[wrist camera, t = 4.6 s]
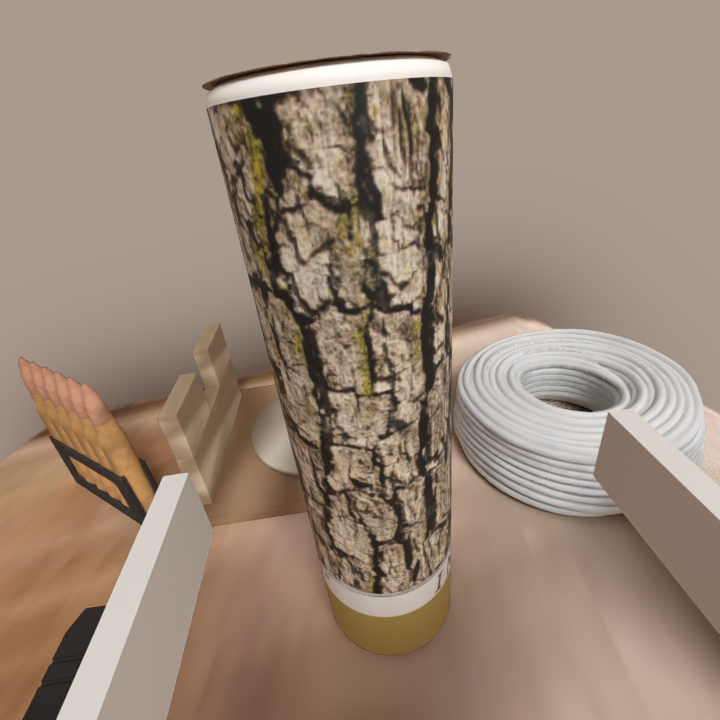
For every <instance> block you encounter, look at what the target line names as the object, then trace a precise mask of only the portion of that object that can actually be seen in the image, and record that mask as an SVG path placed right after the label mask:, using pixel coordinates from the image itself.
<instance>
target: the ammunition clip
mask: <svg viewBox="0 0 720 720" xmlns="http://www.w3.org/2000/svg"><path fill="white" fill-rule="evenodd" d="M18 364H19V370H20V373H21V376H22V379H23V381H24V383H25V385H26V387H27V389H28V390H29V392H30V395H31V397H32V399H33V401H34V402H35V405H36V409H37V411H38V414H39V415H40V417H41V419H42V420H43V422H44V423H45V425H46V427H47V428H48V430H49V432H50V433H51V435H52V436H50V437H49V438H50V440H51V441H52V443H53V445H54V446H55V448H56V449H57V451H58V453H59V454H60V456H61V458H62V459H63V461H64V463H65V464H66V466H67V467H68V469H69V471H70V472H71V474H72V476H73V477H74V479H75V481H76V482H77V483H79V484H80V485H82V486H83V487H85V488H86V489H88V490H89V491H91V492H92V493H94V494H95V495H97V496H98V497H100V498H101V499H103V500H104V501H106V502H107V503H109V504H110V505H112V506H113V507H115V508H117V509H118V510H120V511H121V512H123V513H124V514H126V515H127V516H129V517H130V518H132V519H133V520H135V521H136V522H138V523H139V524H141V525H142V523H143V521H144V519H145V517H146V514H147V512H148V510H149V508H150V505H151V503H152V501H153V498H154V496H155V494H156V492H157V489H158V486H157V484H156V482H155V480H154V478H153V476H152V474H151V472H150V470H149V469H148V467H147V465H146V463H145V461H143V460H141V459H139V458H138V457H137V455H136V453H135V451H134V449H133V447H132V445H131V443H130V441H129V439H128V437H127V435H126V434H125V432H124V431H123V429H122V428H121V427H120V426H119V425H118V423H117V422H116V420H115V418H114V417H113V416H112V414H111V412H110V410H109V409H108V407H107V405H106V404H105V402H104V401H103V400H102V398H101V397H100V396H99V394H98V393H97V392H96V391H95V390H94V389H93V388H92V387H90V386H89V385H88V384H86V383H82V384H80V383H78V382H77V381H76V380H75V379H73V378H71V377H68V379H67V378H66V377H65V376H63V375H62V374H61V373H59V372H55V373H53V372H52V371H51V370H50V369H48V368H47V367H42V368H41V367H40V366H39V365H38V364H36V363H35V362H29V361H27V360H26V359H24V358H22V357H20V358H19V359H18Z"/></svg>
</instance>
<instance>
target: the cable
mask: <svg viewBox="0 0 720 720" xmlns="http://www.w3.org/2000/svg"><path fill="white" fill-rule="evenodd" d="M539 399H550V400H559V401H565V402H570V403H574V404H577V405H580V406H583V407H585V408H588V409H590V410H592V411H595V412H582V411H574V410H568V409H563V408H559V407H556V406H552V405H550V404H547V403H545V402H543V401H541V400H539ZM630 408H632V409H633V410H634V411H636V412H637V413H638V414H639V415H640V416H641V417H642V418H643V419H645V420H646V421H647V422H648V423H649V424H650V425H651V426H652V427H654V428H655V429H656V430H657V431H658V432H659V433H660V434H661V435H663V436H664V437H665V438H666V439H667V440H668V441H669V442H670V443H672V444H673V445H674V446H675V447H676V448H677V449H678V450H679V451H681V452H682V453H683V454H684V455H685V456H686V457H687V458H688V459H690V460H691V461H692V462H693V463H694V464H695V465H696V466H697V467H700V465H701V462H702V459H703V456H704V448H705V442H704V436H705V431H706V423H705V418H704V413H703V403H702V399H701V396H700V394H699V391H698V388H697V386H696V384H695V382H694V381H693V379H692V378H691V376H690V375H689V374H688V373H687V372H686V371H685V370H684V369H683V368H681V366H679V365H678V364H677V363H675V362H674V361H673V360H671V359H669V358H668V357H666V356H664V355H663V354H661V353H659V352H657V351H655V350H653V349H651V348H649V347H647V346H645V345H642V344H640V343H637V342H635V341H632V340H629V339H626V338H623V337H619V336H615V335H612V334H607V333H603V332H597V331H590V330H582V329H581V330H580V329H551V330H540V331H534V332H528V333H522V334H518V335H514V336H510V337H507V338H504V339H501V340H498V341H496V342H494V343H492V344H490V345H488V346H486V347H485V348H483V349H482V350H480V351H478V352H477V353H475V354H474V355H472V356H471V357H470V358H469V359H468V360H467V361H466V362H465V363H464V364H463V366H462V367H461V369H460V371H459V374H458V377H457V385H456V398H455V404H454V408H453V425H454V430H455V433H456V435H457V437H458V439H459V440H460V443H461V446H462V448H463V450H464V452H465V454H466V456H467V458H468V459H469V461H470V462H471V463H472V465H473V466H474V467H475V468H476V469H477V471H478V472H479V473H480V474H481V475H482V476H484V477H485V478H486V479H487V480H488V481H489V482H490V483H491V484H493V485H494V486H496V487H497V488H498V489H500V490H502V491H503V492H505V493H506V494H508V495H510V496H512V497H514V498H516V499H518V500H520V501H522V502H524V503H526V504H529V505H531V506H534V507H537V508H540V509H543V510H546V511H550V512H553V513H558V514H563V515H570V516H584V517H592V516H605V515H611V514H620V513H622V511H621V510H620V509H619V508H618V506H617V505H616V504H615V503H614V501H613V500H612V499H611V498H610V496H609V495H608V494H607V492H606V491H605V490H604V489H603V487H602V486H601V485H600V484H599V482H598V481H597V480H596V479H595V477H594V476H593V472H594V468H595V464H596V460H597V456H598V452H599V448H600V443H601V439H602V435H603V431H604V427H605V423H606V419H607V415H608V412H610V411H616V410H623V409H630Z"/></svg>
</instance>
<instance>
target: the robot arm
mask: <svg viewBox="0 0 720 720" xmlns="http://www.w3.org/2000/svg"><path fill="white" fill-rule="evenodd" d="M593 476H594V477H595V479H596V480H597V481H598V482H599V484H600V485H601V486H602V487H603V489H604V490H605V491H606V492H607V494H608V495H609V496H610V498H611V499H612V500H613V501H614V503H615V504H616V505H617V506H618V508H619V509H620V510H621V511H622V513H623V514H624V515H625V516H626V518H627V519H628V520H629V521H630V523H631V524H632V525H633V526H634V528H635V529H636V530H637V531H638V533H639V534H640V535H641V537H642V538H643V539H644V540H645V542H646V543H647V544H648V545H649V547H650V548H651V549H652V550H653V552H654V553H655V554H656V555H657V557H658V558H659V559H660V560H661V562H662V563H663V564H664V565H665V567H666V568H667V569H668V570H669V572H670V573H671V574H672V576H673V577H674V578H675V579H676V581H677V582H678V583H679V584H680V586H681V587H682V588H683V589H684V591H685V592H686V593H687V594H688V596H689V597H690V598H691V599H692V601H693V602H694V603H695V604H696V606H697V607H698V608H699V609H700V611H701V612H702V613H703V614H704V616H705V617H706V618H707V620H708V621H709V622H710V623H711V625H712V626H713V627H714V628H715V630H716V631H717V632H718V633H719V635H720V486H719V485H718V484H717V483H715V482H714V481H713V480H712V479H711V478H710V477H709V476H708V475H706V474H705V473H704V472H703V471H702V470H701V469H700V468H699V467H697V466H696V465H695V464H694V463H693V462H692V461H691V460H690V459H688V458H687V457H686V456H685V455H684V454H683V453H682V452H681V451H679V450H678V449H677V448H676V447H675V446H674V445H673V444H672V443H670V442H669V441H668V440H667V439H666V438H665V437H664V436H663V435H661V434H660V433H659V432H658V431H657V430H656V429H655V428H654V427H652V426H651V425H650V424H649V423H648V422H647V421H646V420H645V419H643V418H642V417H641V416H640V415H639V414H638V413H637V412H636V411H634V410H633V409H632V408H630V409H623V410H616V411H610V412H608V415H607V419H606V423H605V427H604V431H603V435H602V439H601V443H600V448H599V452H598V456H597V460H596V464H595V468H594V472H593ZM213 534H214V530H213V528H212V526H211V523H210V521H209V519H208V516H207V514H206V512H205V510H204V507H203V505H202V503H201V500H200V498H199V496H198V493H197V491H196V489H195V486H194V484H193V482H192V479H191V477H190V475H189V473H182V474H175V475H168V476H163V478H162V480H161V483H160V485H159V487H158V489H157V492H156V494H155V496H154V498H153V501H152V503H151V505H150V508H149V510H148V512H147V514H146V517H145V519H144V521H143V523H142V526H141V528H140V530H139V533H138V535H137V537H136V539H135V542H134V544H133V546H132V549H131V551H130V553H129V555H128V558H127V560H126V562H125V564H124V567H123V569H122V571H121V574H120V576H119V578H118V580H117V583H116V585H115V587H114V589H113V592H112V594H111V596H110V599H109V601H108V603H107V605H105V606H99V607H92V608H86V609H85V610H84V611H83V612H82V614H81V615H80V616H79V617H78V618H77V620H76V621H75V622H74V623H73V624H72V626H71V627H70V628H69V629H68V630H67V632H66V633H65V635H64V637H63V639H62V641H61V643H60V645H59V647H58V649H57V651H56V653H55V655H54V657H53V663H52V664H50V665H49V667H48V669H47V671H46V673H45V675H44V677H43V679H42V681H41V682H42V685H41V687H38V689H37V691H36V693H35V695H34V697H33V699H32V701H31V704H30V706H29V708H28V710H27V712H26V714H25V716H24V718H23V720H166V719H167V715H168V712H169V708H170V704H171V700H172V696H173V692H174V688H175V684H176V680H177V676H178V672H179V668H180V664H181V660H182V656H183V652H184V648H185V644H186V641H187V637H188V633H189V629H190V625H191V621H192V617H193V613H194V609H195V605H196V601H197V597H198V593H199V589H200V585H201V581H202V577H203V573H204V570H205V566H206V562H207V558H208V554H209V550H210V546H211V542H212V538H213Z"/></svg>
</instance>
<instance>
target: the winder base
mask: <svg viewBox="0 0 720 720" xmlns="http://www.w3.org/2000/svg"><path fill="white" fill-rule="evenodd" d="M193 355H194V357H195V360H196V363H197V366H198V369H199V372H200V374H201V377H202V380H203V383H204V386H205V391H204V392H203V389H202V386H201V384H200V381H199V378H198V375H197V373H191V374H184V375H180V376H179V378H178V380H177V382H176V384H175V386H174V387H173V389H172V391H171V393H170V395H169V397H168V399H167V401H166V402H165V404H164V406H163V408H162V410H161V412H160V414H159V415H158V417H157V419H158V421H159V424H160V426H161V428H162V430H163V433H164V435H165V437H166V439H167V442H168V444H169V446H170V448H171V451H172V453H173V455H174V457H175V460H176V462H177V464H178V466H179V469H180V471H181V473H189V475H190V477H191V479H192V482H193V484H194V486H195V489H196V491H197V493H198V496H199V498H200V500H201V503H202V505H203V507H204V510H205V512H206V514H207V516H208V519H209V521H210V523H211V526H217V525H223V524H230V523H236V522H242V521H249V520H255V519H262V518H268V517H274V516H281V515H287V514H293V513H300V512H306V511H307V508H306V504H305V500H304V496H303V492H302V488H301V484H300V480H299V476H298V472H297V468H296V464H295V460H294V456H293V452H292V448H291V444H290V440H289V436H288V432H287V428H286V424H285V420H284V416H283V412H282V408H281V404H280V400H279V396H278V392H277V388H276V385H269V386H262V387H255V388H248V389H241V390H240V388H239V385H238V381H237V378H236V375H235V372H234V368H233V365H232V362H231V359H230V355H229V352H228V349H227V345H226V342H225V339H224V336H223V332H222V329H221V326H220V324H213V325H207V326H206V328H205V330H204V332H203V334H202V335H201V337H200V339H199V341H198V343H197V344H196V346H195V348H194V350H193Z"/></svg>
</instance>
